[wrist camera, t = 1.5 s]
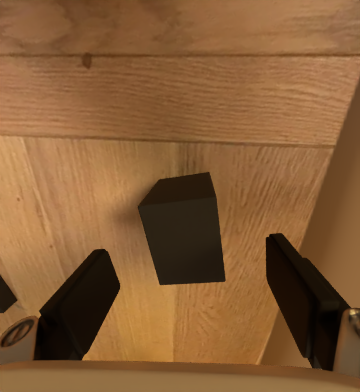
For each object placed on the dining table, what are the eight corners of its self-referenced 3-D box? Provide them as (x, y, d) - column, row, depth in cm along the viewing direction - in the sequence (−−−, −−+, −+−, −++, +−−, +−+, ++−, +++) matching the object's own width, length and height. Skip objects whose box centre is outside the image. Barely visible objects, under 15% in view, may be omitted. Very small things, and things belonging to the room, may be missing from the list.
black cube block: (158, 179, 16) (136, 206, 10) (209, 171, 15) (216, 196, 9) (171, 236, 18) (159, 285, 12) (216, 232, 17) (225, 282, 11)
